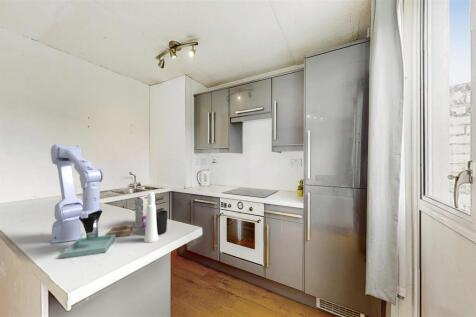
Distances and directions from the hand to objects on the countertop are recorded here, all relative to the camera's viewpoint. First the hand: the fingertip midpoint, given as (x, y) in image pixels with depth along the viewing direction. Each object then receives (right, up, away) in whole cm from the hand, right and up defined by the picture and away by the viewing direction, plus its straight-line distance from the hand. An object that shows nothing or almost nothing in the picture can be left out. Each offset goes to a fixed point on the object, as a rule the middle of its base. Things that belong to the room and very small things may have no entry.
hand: (91, 230), depth 80 cm
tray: (0, -7, 0) cm, 7 cm away
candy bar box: (+10, -7, +27) cm, 29 cm away
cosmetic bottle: (+22, -7, +7) cm, 24 cm away
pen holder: (+21, -7, +17) cm, 28 cm away
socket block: (+3, -7, +15) cm, 17 cm away
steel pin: (0, -3, 0) cm, 3 cm away
